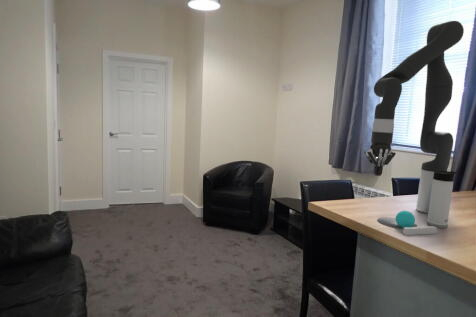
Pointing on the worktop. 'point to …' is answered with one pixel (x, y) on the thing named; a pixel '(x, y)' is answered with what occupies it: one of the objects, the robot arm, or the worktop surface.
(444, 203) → the travel mug
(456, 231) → the worktop surface
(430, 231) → the wall
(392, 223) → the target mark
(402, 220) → the ball
